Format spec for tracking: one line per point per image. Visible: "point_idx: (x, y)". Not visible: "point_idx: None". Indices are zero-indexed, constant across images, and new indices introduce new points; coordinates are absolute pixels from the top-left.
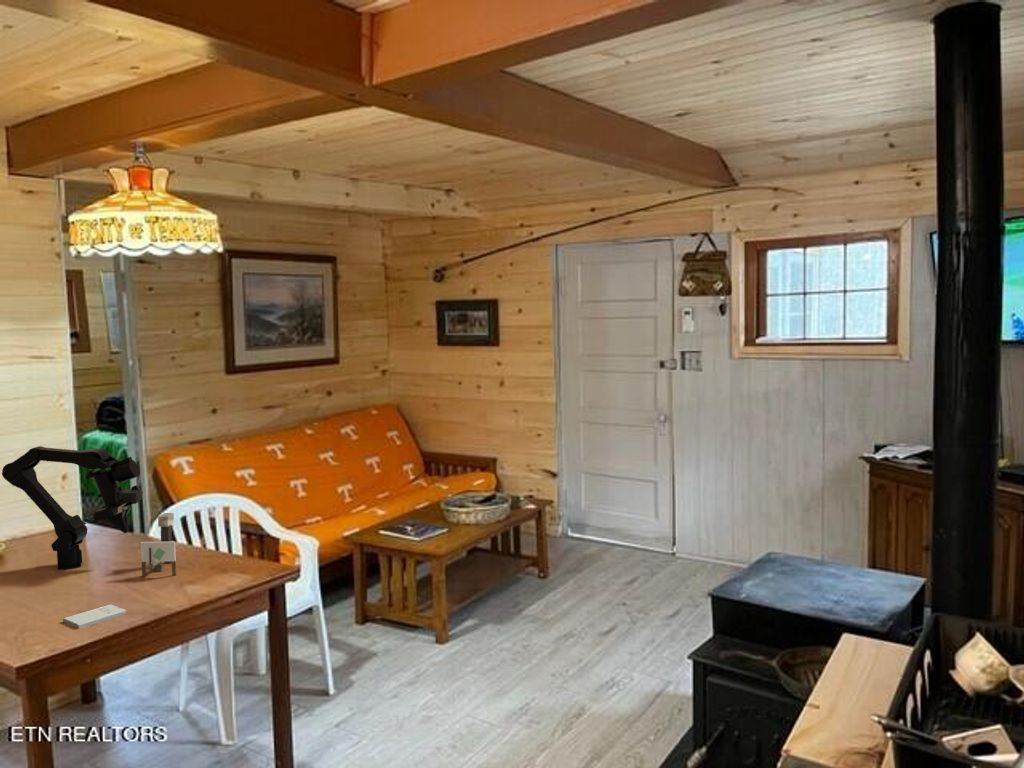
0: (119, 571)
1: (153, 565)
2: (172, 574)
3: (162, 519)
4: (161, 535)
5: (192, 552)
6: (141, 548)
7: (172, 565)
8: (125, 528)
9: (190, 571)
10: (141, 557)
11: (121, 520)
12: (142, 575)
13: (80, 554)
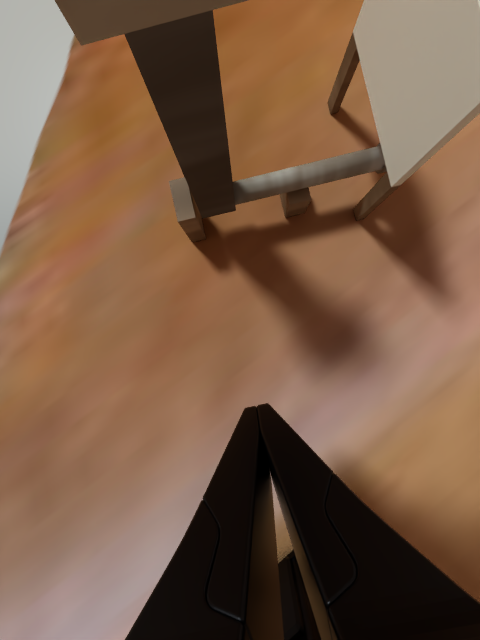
0: (326, 345)
1: (373, 148)
2: (338, 107)
3: None
4: (223, 113)
5: (63, 217)
6: (464, 122)
7: (356, 65)
8: (290, 427)
9: (279, 78)
10: (417, 169)
11: (390, 547)
12: (364, 217)
13: (298, 605)
